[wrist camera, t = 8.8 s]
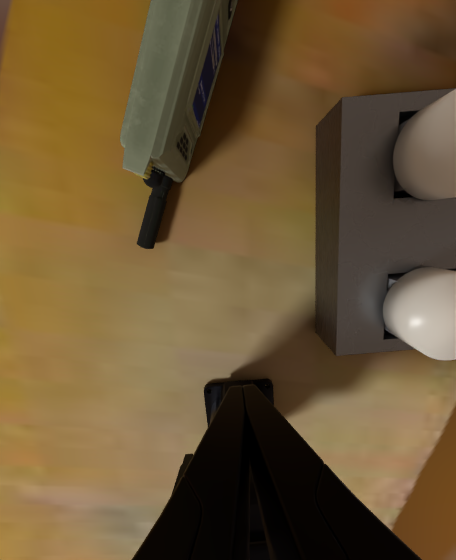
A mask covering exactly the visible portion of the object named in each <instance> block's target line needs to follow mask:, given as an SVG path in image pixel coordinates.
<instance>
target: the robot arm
mask: <svg viewBox="0 0 456 560" xmlns="http://www.w3.org/2000/svg"><path fill="white" fill-rule="evenodd" d="M266 384H269V385H268V386H265V385H266ZM207 389H211V390H210V391H208V390H207ZM204 398H205V406H206V414H207V423H208V429H207V430H206V432H205V434H204V436H203V438H202V440H201V442H200V444H199V445H198V447H197V449H196V451H195V453H194V455H193V454H185V457H184V460H183V464H182V465H181V466H180V470H179V473H178V476H177V479H176V482H175V486H174V489H173V492H172V495H171V497H170V499H169V501H168V503H167V504H166V506H165V508H164V510H163V512H162V513H161V515H160V517H159V518H158V520H157V521H156V523H155V524H154V526H153V528H152V529H151V531H150V532H149V534H148V536H147V537H146V539H145V540H144V542H143V543H142V545H141V546H140V548H139V549H138V551H137V552H136V554H135V555H134V557H133V558H132V560H422V559H421V558H420V557H418V556H417V555H416V554H415V553H414V552H413V551H412V550H411V549H410V548H409V547H408V546H407V545H406V544H405V543H404V542H403V541H401V540H400V539H399V538H398V537H397V536H396V535H395V534H394V533H393V532H392V531H391V530H390V529H389V528H388V527H387V526H386V525H385V524H383V523H382V522H381V521H380V520H379V519H378V518H377V517H376V516H375V515H374V514H373V513H372V512H371V511H370V510H369V509H368V508H367V507H366V506H365V505H364V504H363V503H362V502H361V501H360V500H359V499H358V498H357V497H356V496H355V495H354V494H353V493H352V492H351V491H350V490H349V489H348V488H347V487H346V486H345V485H344V483H343V482H342V481H341V480H340V479H339V478H338V477H337V476H336V475H335V474H334V473H333V471H332V470H331V469H330V468H329V467H328V466H327V465H326V464H324V462H323V460H322V459H321V458H320V457H319V456H318V455H317V454H316V453H315V451H314V450H313V449H312V448H311V447H310V446H309V445H308V444H307V442H306V441H305V440H304V439H303V438H302V437H301V436H300V435H299V434H298V432H297V431H296V430H295V429H294V428H293V427H292V426H291V425H290V423H289V422H288V421H287V420H286V419H285V418H284V417H283V416H282V415H281V413H280V412H279V411H278V410H277V409H276V408H275V407H274V401H273V385H272V381H271V380H269V379H260V380H244V381H233V382H224V383H213V384H207V385H205V387H204Z"/></svg>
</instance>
